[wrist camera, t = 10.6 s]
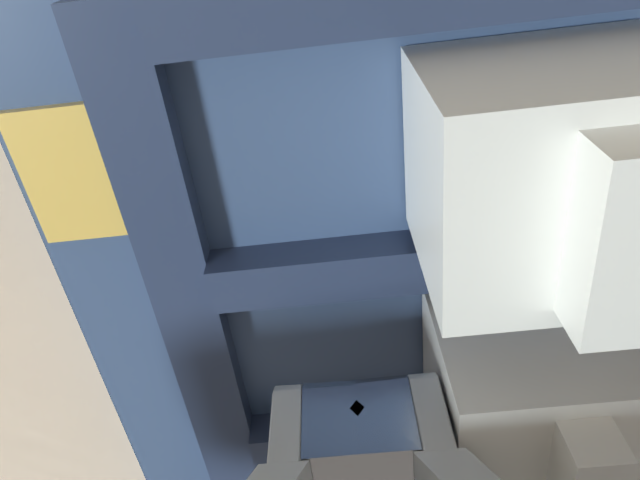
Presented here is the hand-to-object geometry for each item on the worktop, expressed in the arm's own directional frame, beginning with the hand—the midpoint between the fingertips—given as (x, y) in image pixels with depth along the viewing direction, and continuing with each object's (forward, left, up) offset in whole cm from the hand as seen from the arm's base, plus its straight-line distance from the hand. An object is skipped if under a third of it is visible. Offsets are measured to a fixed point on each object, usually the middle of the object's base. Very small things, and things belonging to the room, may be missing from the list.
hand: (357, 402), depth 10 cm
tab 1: (-3, -4, -2) cm, 5 cm away
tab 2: (-3, 0, -2) cm, 4 cm away
